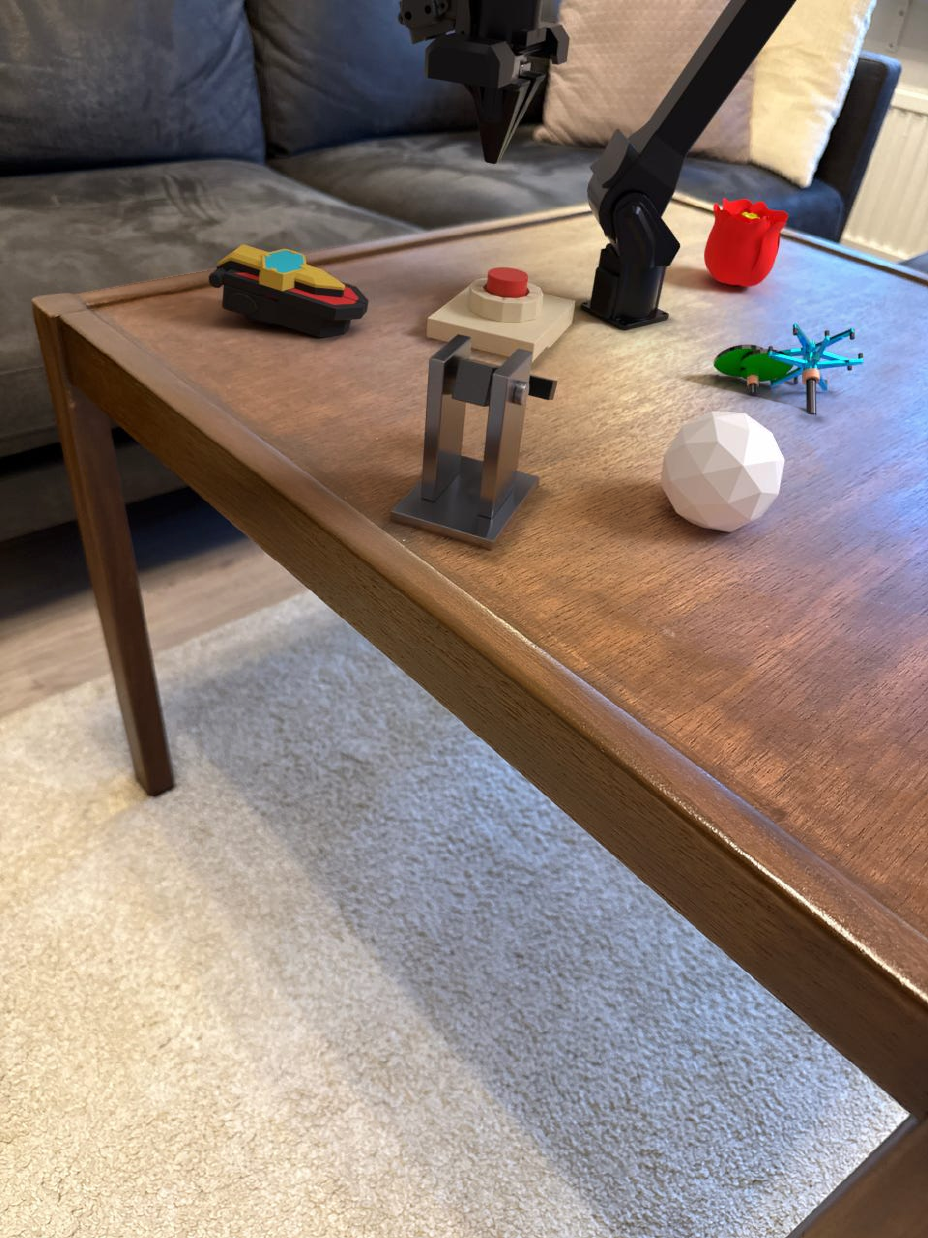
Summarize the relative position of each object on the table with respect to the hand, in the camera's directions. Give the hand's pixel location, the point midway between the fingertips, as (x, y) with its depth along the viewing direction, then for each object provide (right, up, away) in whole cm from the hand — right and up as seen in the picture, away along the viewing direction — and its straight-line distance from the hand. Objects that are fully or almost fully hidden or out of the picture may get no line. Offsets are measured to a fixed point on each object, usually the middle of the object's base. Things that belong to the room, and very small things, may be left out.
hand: (491, 162), depth 84 cm
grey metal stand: (-2, -33, -21) cm, 39 cm away
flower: (+27, -4, +20) cm, 34 cm away
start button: (+1, -11, +1) cm, 11 cm away
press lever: (0, -26, -22) cm, 34 cm away
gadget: (-18, -14, +1) cm, 23 cm away
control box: (+1, -14, +4) cm, 14 cm away
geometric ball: (+14, -34, -19) cm, 41 cm away
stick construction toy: (+25, -22, -3) cm, 33 cm away
